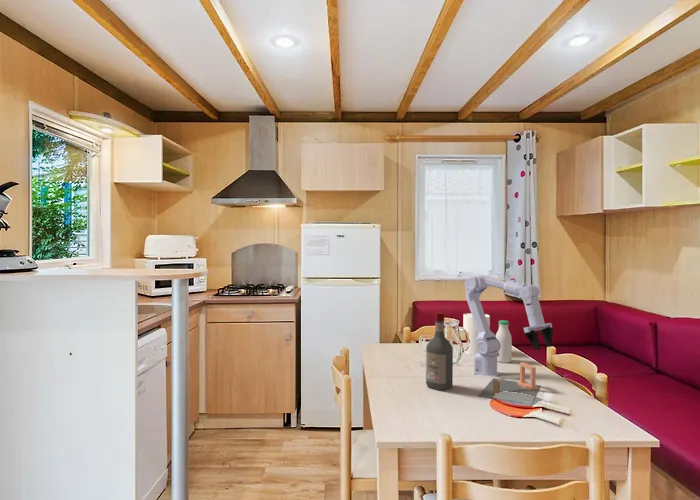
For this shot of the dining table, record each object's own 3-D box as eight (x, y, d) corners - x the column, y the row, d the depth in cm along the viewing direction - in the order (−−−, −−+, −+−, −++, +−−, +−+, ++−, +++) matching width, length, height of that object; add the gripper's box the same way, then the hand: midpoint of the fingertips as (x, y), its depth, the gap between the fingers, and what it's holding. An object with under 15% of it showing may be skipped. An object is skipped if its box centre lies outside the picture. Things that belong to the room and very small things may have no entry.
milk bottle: (513, 360, 218) (513, 320, 218) (509, 364, 211) (509, 322, 211) (497, 358, 222) (497, 319, 222) (493, 361, 215) (493, 321, 215)
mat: (478, 396, 166) (478, 395, 166) (493, 378, 188) (493, 378, 188) (531, 406, 157) (531, 404, 157) (541, 386, 178) (541, 385, 178)
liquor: (443, 392, 171) (443, 315, 171) (423, 386, 177) (423, 313, 177) (454, 386, 178) (455, 312, 177) (435, 381, 184) (435, 310, 183)
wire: (492, 396, 166) (493, 381, 166) (501, 384, 179) (501, 371, 179) (512, 399, 162) (513, 384, 162) (520, 387, 175) (520, 373, 175)
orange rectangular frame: (529, 390, 172) (529, 367, 172) (517, 384, 179) (517, 362, 179) (538, 389, 173) (538, 367, 173) (525, 383, 180) (526, 362, 180)
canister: (458, 352, 234) (458, 315, 234) (471, 348, 243) (472, 312, 243) (480, 357, 224) (481, 318, 224) (494, 352, 233) (494, 315, 233)
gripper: (530, 315, 171) (539, 350, 168) (554, 310, 178) (563, 344, 175) (516, 317, 177) (525, 351, 174) (540, 313, 184) (548, 345, 181)
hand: (543, 348), depth 175 cm, fingers open, 7 cm apart
